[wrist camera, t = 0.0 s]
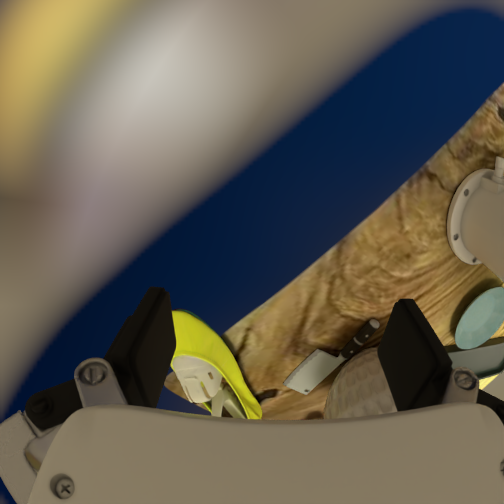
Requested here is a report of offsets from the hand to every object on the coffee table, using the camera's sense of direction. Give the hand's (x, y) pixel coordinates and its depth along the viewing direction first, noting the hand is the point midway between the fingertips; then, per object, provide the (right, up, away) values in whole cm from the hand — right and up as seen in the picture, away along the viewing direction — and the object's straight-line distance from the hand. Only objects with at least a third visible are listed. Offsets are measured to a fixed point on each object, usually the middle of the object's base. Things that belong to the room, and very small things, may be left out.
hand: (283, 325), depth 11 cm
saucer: (+34, -6, +23) cm, 41 cm away
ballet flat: (-6, -14, +28) cm, 32 cm away
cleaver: (+7, -10, +25) cm, 28 cm away
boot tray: (+41, -17, +27) cm, 52 cm away
